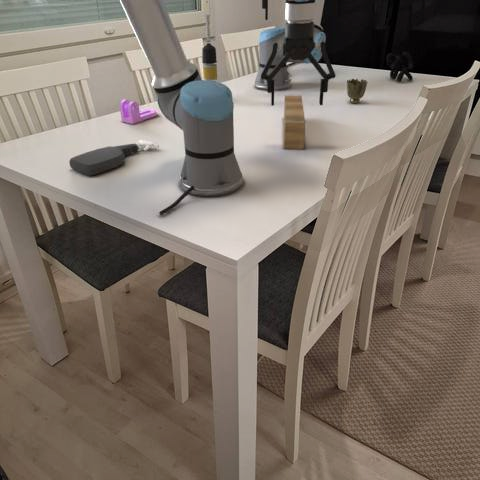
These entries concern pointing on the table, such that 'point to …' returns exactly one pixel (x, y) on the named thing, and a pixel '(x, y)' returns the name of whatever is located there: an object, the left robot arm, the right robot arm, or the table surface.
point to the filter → (209, 57)
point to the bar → (294, 122)
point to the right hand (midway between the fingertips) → (286, 19)
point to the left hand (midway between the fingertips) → (296, 104)
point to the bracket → (134, 112)
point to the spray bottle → (106, 157)
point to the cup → (356, 89)
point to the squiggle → (399, 66)
